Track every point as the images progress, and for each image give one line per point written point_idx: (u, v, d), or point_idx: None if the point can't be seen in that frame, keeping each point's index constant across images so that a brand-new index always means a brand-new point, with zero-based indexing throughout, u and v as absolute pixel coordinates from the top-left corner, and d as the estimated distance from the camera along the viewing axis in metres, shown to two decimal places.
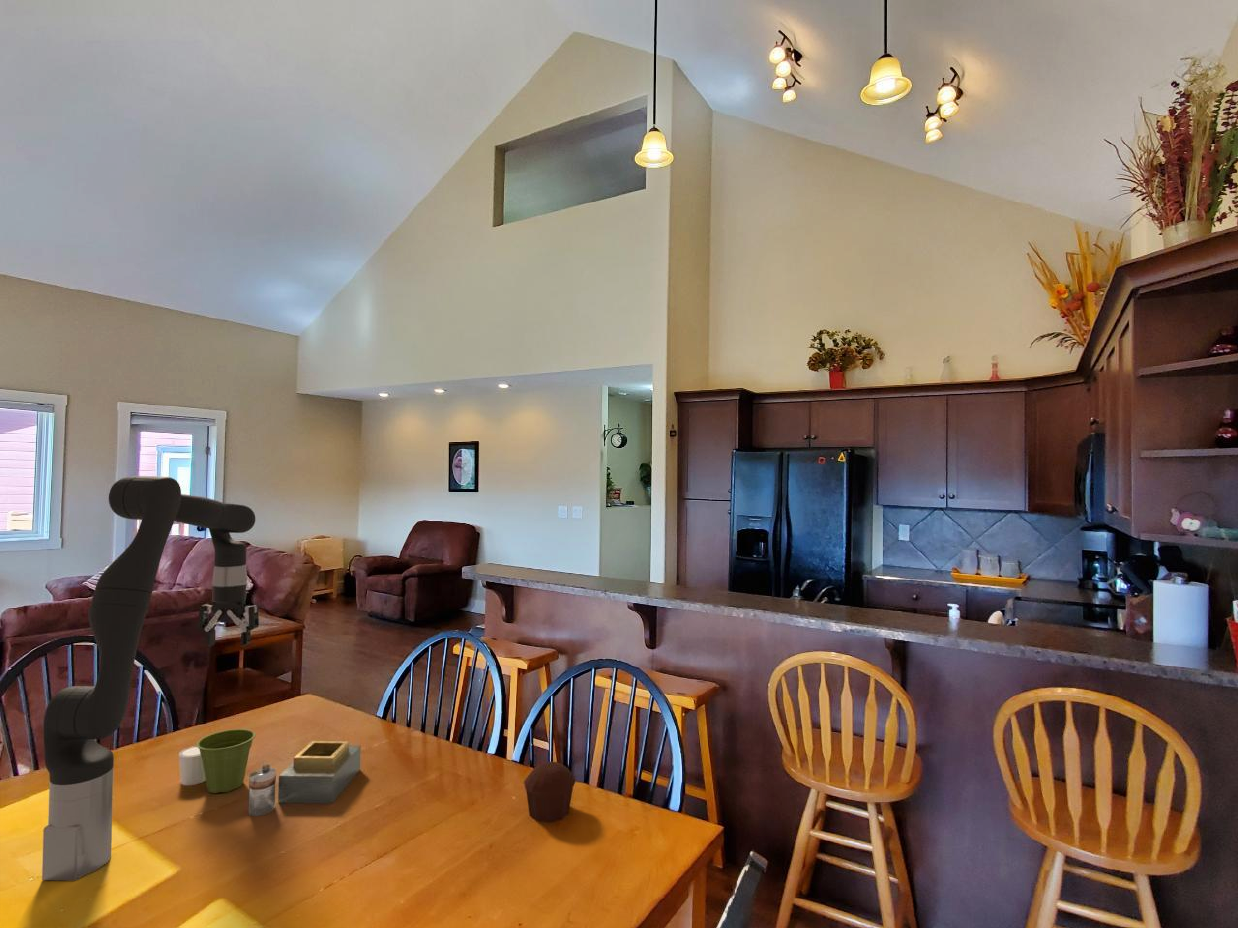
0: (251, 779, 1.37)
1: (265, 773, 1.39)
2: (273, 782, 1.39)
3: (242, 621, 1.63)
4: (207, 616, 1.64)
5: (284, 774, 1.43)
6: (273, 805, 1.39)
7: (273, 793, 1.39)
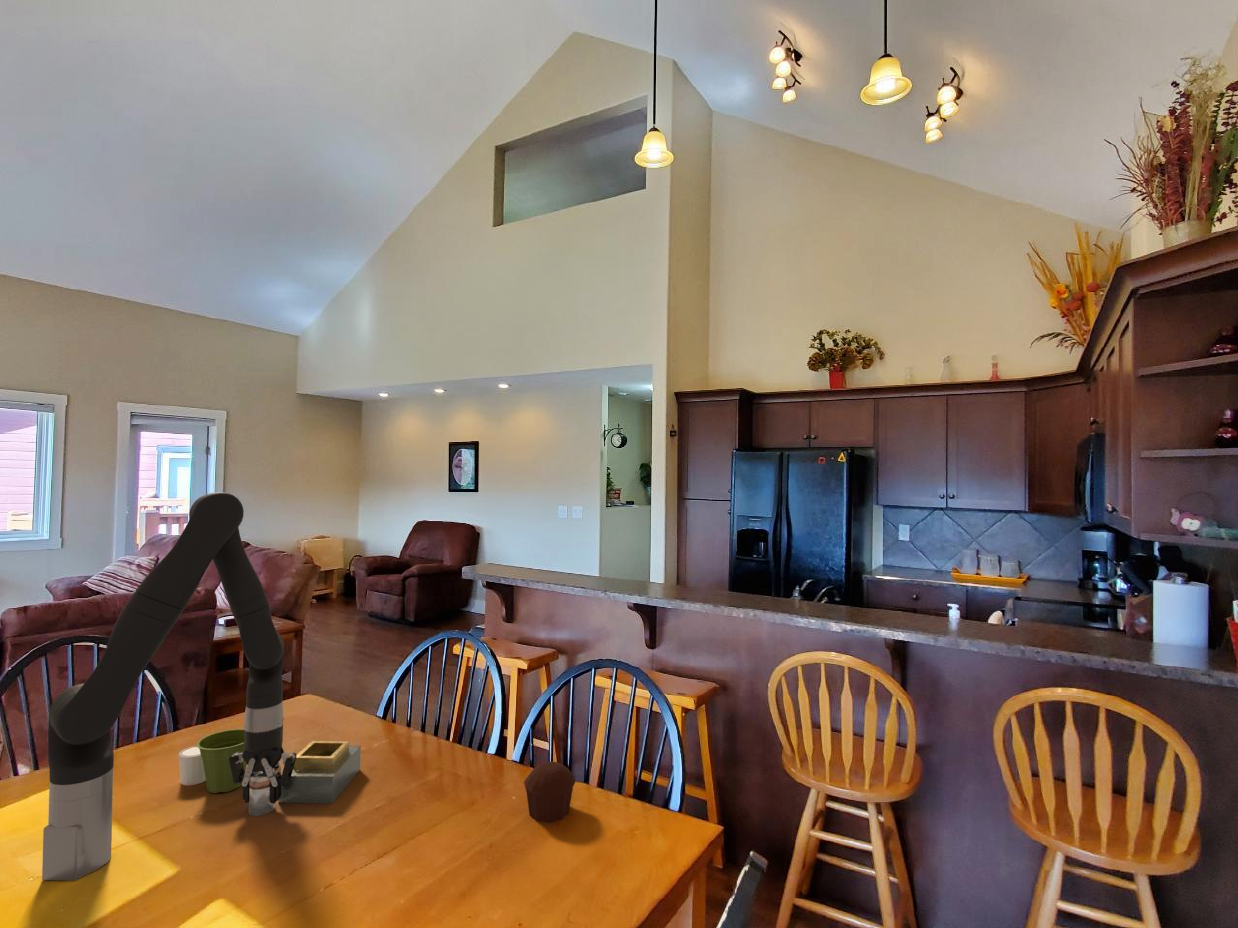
0: (251, 779, 1.37)
1: (265, 773, 1.39)
2: None
3: (275, 773, 1.38)
4: (241, 766, 1.40)
5: None
6: (273, 805, 1.39)
7: None
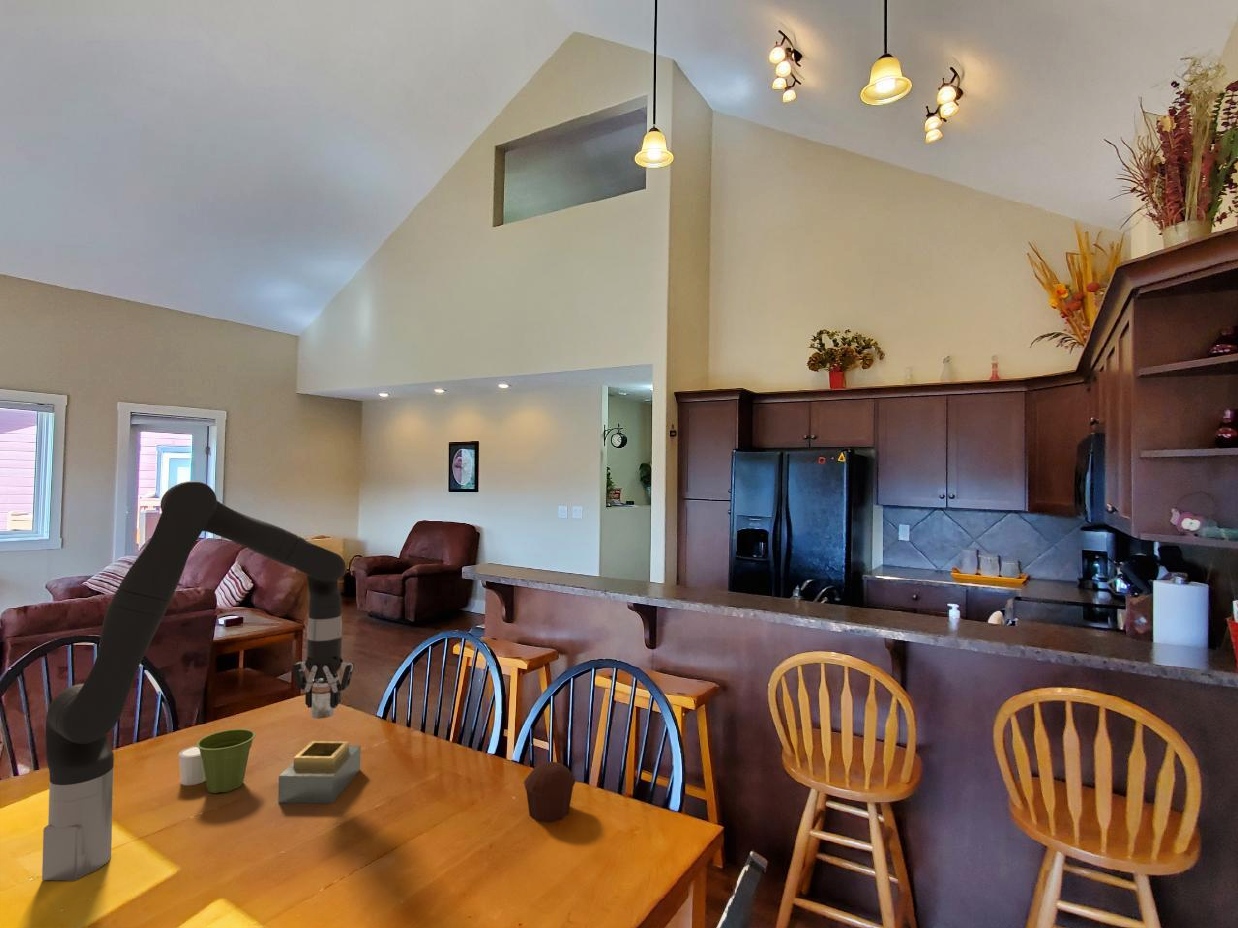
0: (314, 685, 1.48)
1: (326, 680, 1.50)
2: None
3: (335, 680, 1.50)
4: (303, 674, 1.51)
5: (284, 774, 1.43)
6: (333, 710, 1.51)
7: None
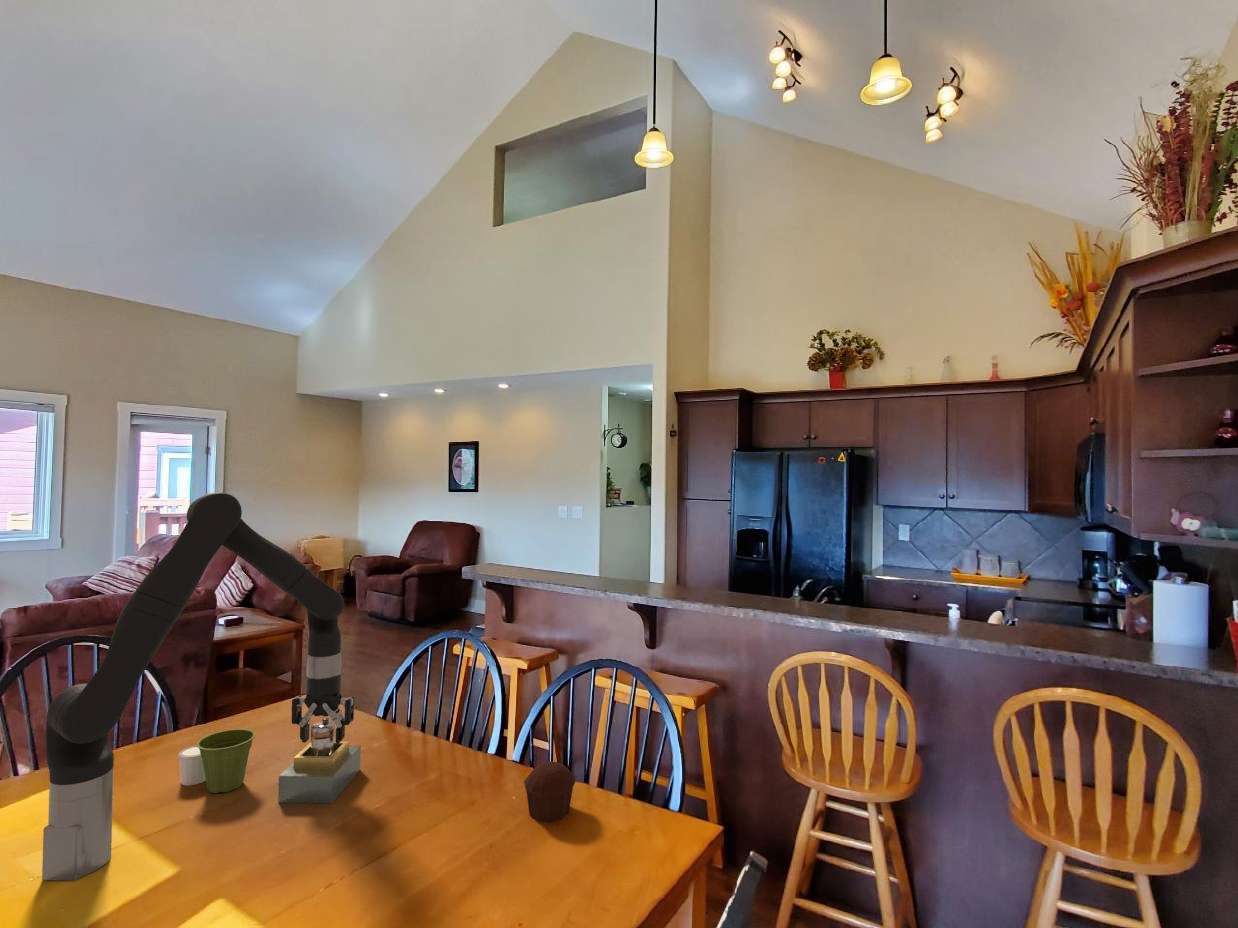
0: (313, 730, 1.48)
1: (325, 725, 1.50)
2: (333, 733, 1.50)
3: (337, 715, 1.50)
4: (300, 709, 1.51)
5: (284, 774, 1.43)
6: None
7: (333, 743, 1.50)
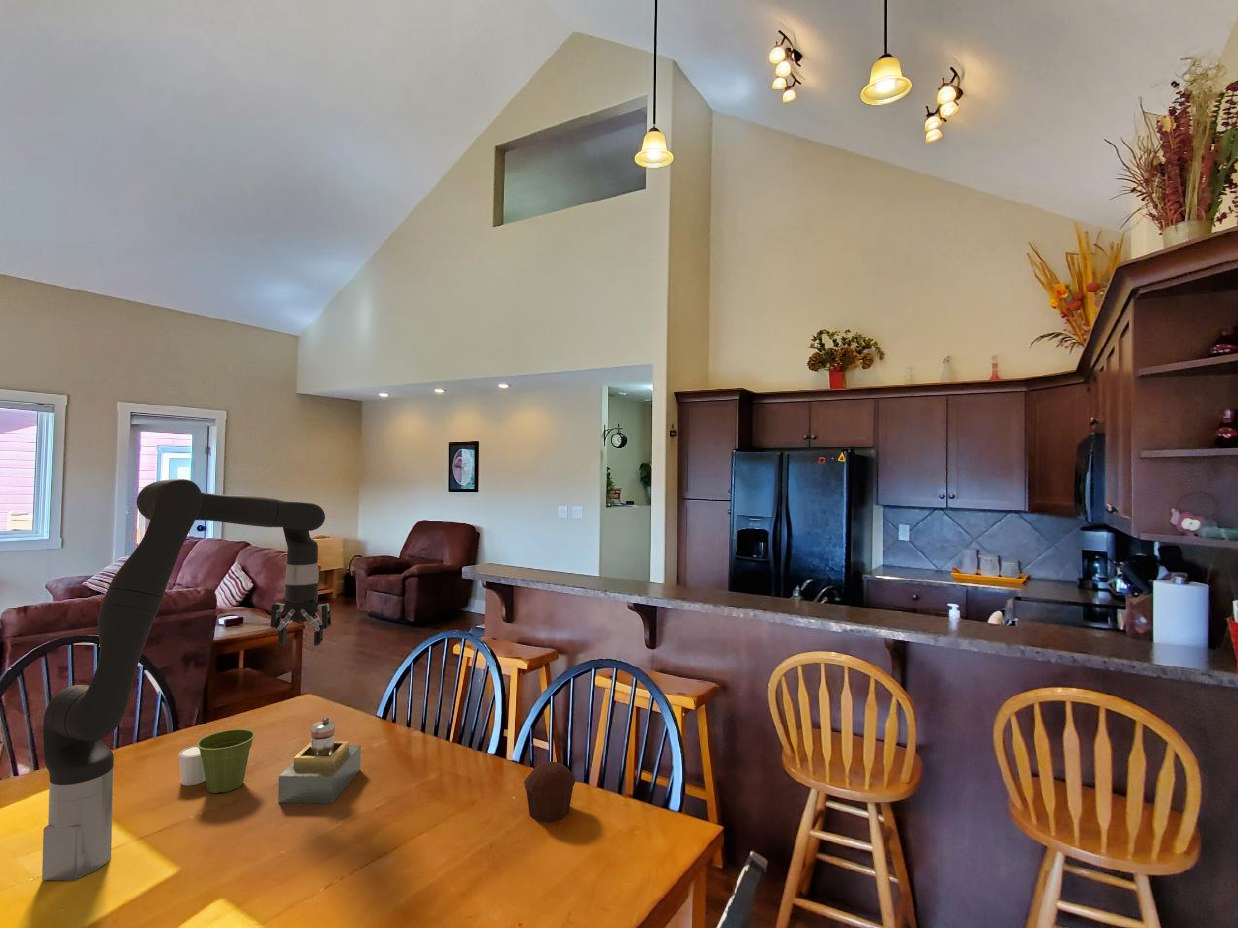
0: (313, 730, 1.48)
1: (325, 725, 1.50)
2: (333, 733, 1.50)
3: (315, 620, 1.61)
4: (279, 615, 1.62)
5: (284, 774, 1.43)
6: None
7: (333, 743, 1.50)
